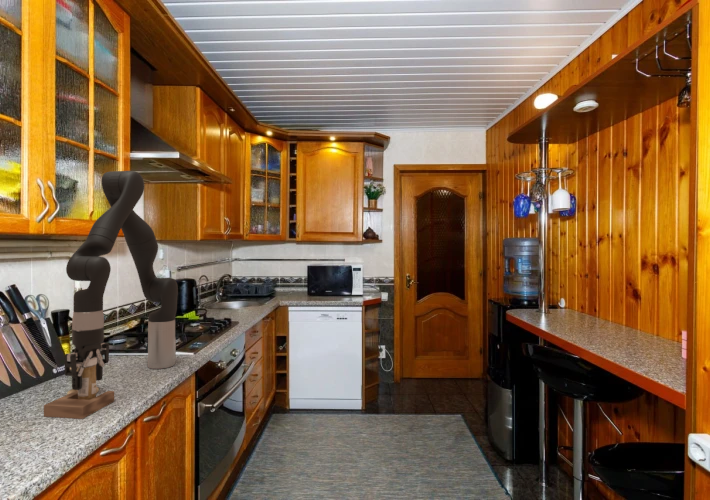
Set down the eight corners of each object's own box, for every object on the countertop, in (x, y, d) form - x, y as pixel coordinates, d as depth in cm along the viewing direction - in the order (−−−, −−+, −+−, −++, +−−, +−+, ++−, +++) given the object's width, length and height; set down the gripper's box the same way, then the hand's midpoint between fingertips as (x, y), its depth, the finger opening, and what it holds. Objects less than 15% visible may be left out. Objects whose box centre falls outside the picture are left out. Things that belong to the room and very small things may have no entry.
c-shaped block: (79, 399, 119) (79, 389, 119) (114, 401, 118) (114, 391, 118) (43, 416, 107) (43, 405, 107) (82, 418, 106) (82, 407, 106)
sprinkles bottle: (99, 404, 116) (100, 357, 115) (82, 409, 111) (83, 361, 111) (90, 401, 118) (91, 355, 118) (73, 406, 114) (74, 358, 114)
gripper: (94, 321, 122) (94, 376, 122) (54, 331, 108) (54, 393, 108) (118, 322, 121) (117, 377, 121) (80, 332, 107) (80, 394, 107)
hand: (87, 384), depth 115 cm, fingers open, 7 cm apart
